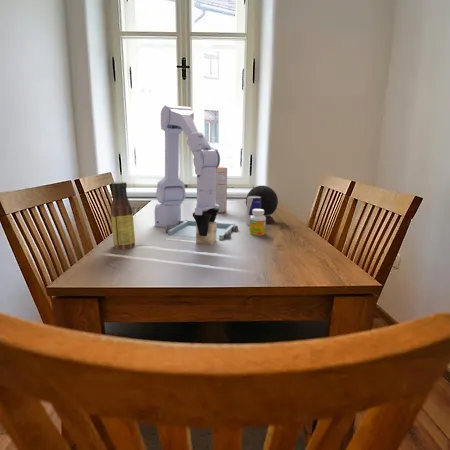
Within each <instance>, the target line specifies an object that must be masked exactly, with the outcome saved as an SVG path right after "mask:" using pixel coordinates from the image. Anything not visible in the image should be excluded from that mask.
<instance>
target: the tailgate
mask: <svg viewBox="0 0 450 450" xmlns="http://www.w3.org/2000/svg"><path fill="white" fill-rule="evenodd" d="M164 240H165V241H173V242H182V243H195V244H197V243H196V240H187V239H180V238H179V239H177V238H168V237H167V238H165V239H164ZM200 244H202V243H200ZM202 245H203V244H202ZM210 245H215V242H214V243H213V244H210Z"/></svg>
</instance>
